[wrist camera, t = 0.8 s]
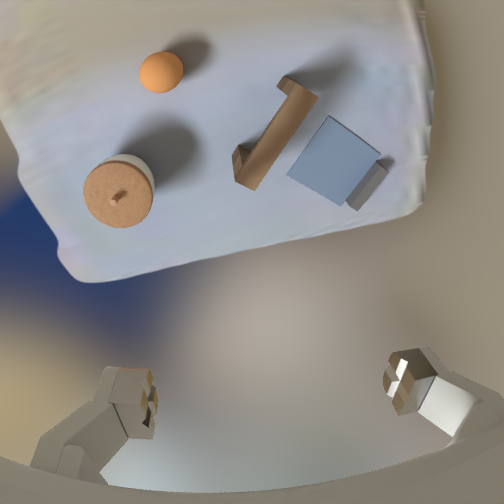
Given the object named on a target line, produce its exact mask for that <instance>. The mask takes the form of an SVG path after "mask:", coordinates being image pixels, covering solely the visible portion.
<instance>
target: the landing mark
mask: <svg viewBox="0 0 504 504" xmlns="http://www.w3.org/2000/svg"><path fill="white" fill-rule="evenodd" d="M379 156H380V154H379V153H378V152H376V151H375V150H374V149H373V148H371V147H370V146H369V145H367V144H366V143H365V142H363V141H362V140H361V139H359V138H358V137H357V136H355V135H354V134H353V133H351V132H350V131H349V130H347V129H346V128H345V127H343V126H342V125H340V124H339V123H338V122H336V121H335V120H333V119H332V118H330V117H329V116H328V117H327V119H326V120H325V121H324V123H323V124H322V126H321V127H320V128H319V130H318V131H317V133H316V134H315V135H314V137H313V138H312V140H311V141H310V142H309V144H308V145H307V147H306V148H305V149H304V151H303V152H302V154H301V155H300V157H299V158H298V159H297V161H296V162H295V164H294V165H293V166H292V168H291V169H290V171H289V172H288V173H287V176H289V177H291V178H293V179H295V180H296V181H298V182H300V183H302V184H303V185H305V186H307V187H309V188H310V189H312V190H314V191H315V192H317V193H319V194H321V195H322V196H324V197H326V198H327V199H329V200H331V201H332V202H334V203H336V204H337V205H339V206H341V205H342V204H343V202H344V201H345V200H346V199H347V197H348V196H349V195H350V194H351V192H352V191H353V190H354V188H355V187H356V186H357V185H358V183H359V182H360V181H361V179H362V178H363V177H364V176H365V174H366V173H367V172H368V170H369V169H370V168H371V167H372V165H373V164H374V163H375V161H376V160H377V159H378V157H379Z"/></svg>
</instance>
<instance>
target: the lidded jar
mask: <svg viewBox="0 0 504 504" xmlns="http://www.w3.org/2000/svg"><path fill="white" fill-rule="evenodd" d="M154 189H155V184H154V178H153V175H152V172H151V170H150V168H149V167H148V166H147V164H146V163H145V162H144V161H142V160H141V159H140V158H138V157H136V156H133V155H129V154H117V155H114V156H111V157H109V158H107V159H105V160H104V161H102V162H101V163H100V164H99V165H98V166H97V167H96V168H94V169H93V170H92V172H91V173H90V174H89V175H88V177H87V179H86V181H85V184H84V190H83V194H84V200H85V204H86V206H87V208H88V210H89V211H90V213H91V214H92V215H93V216H94V217H95V218H96V219H97V220H99V221H100V222H101V223H103V224H106V225H108V226H111V227H116V228H127V227H131V226H134V225H136V224H138V223H139V222H141V221H142V220H143V219H144V218H145V217H146V216H147V215H148V213H149V211H150V209H151V206H152V202H153V197H154Z"/></svg>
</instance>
